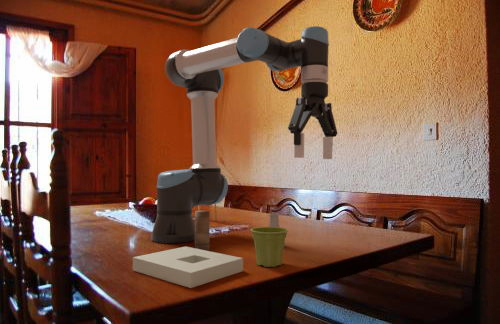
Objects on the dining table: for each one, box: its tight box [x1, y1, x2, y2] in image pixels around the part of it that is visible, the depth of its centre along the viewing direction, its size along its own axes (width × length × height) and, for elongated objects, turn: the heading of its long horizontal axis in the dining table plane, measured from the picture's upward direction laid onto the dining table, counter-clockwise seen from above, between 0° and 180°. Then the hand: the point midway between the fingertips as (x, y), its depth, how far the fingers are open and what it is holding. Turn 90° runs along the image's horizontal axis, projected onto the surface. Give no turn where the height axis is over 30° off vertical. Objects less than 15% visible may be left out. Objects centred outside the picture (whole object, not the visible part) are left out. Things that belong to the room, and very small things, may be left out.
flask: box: [268, 212, 286, 247], centre depth 113 cm, size 7×7×10 cm
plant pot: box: [250, 226, 289, 268], centre depth 91 cm, size 9×9×9 cm
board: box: [132, 246, 244, 289], centre depth 85 cm, size 20×16×3 cm
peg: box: [194, 210, 211, 251], centre depth 101 cm, size 4×4×12 cm
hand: (314, 158), depth 103 cm, fingers open, 13 cm apart
